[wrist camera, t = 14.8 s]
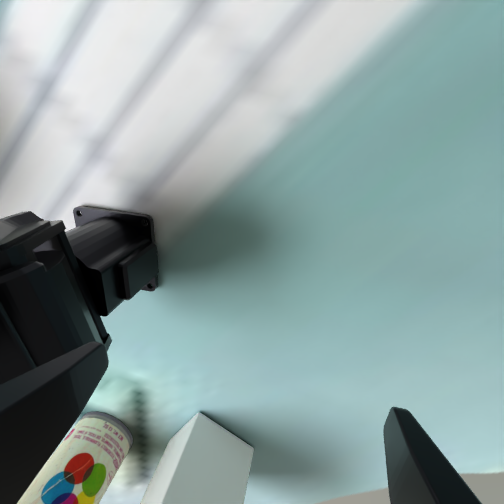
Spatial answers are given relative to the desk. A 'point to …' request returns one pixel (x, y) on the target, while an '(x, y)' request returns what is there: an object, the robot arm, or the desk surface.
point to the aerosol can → (82, 463)
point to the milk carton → (201, 467)
